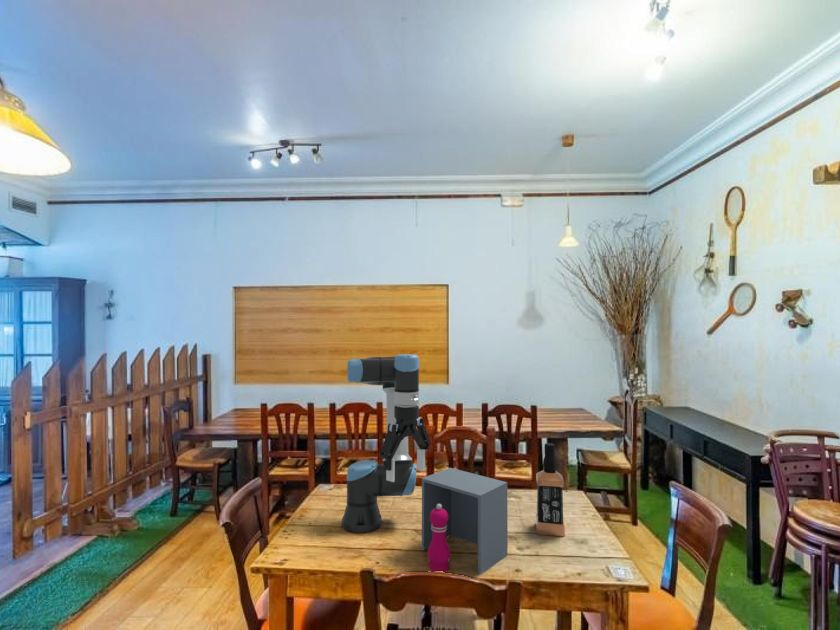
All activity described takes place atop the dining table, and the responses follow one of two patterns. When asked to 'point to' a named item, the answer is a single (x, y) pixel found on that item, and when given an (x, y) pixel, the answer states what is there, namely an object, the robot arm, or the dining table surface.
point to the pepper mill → (439, 540)
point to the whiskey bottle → (549, 496)
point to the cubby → (468, 512)
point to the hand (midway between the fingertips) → (406, 475)
